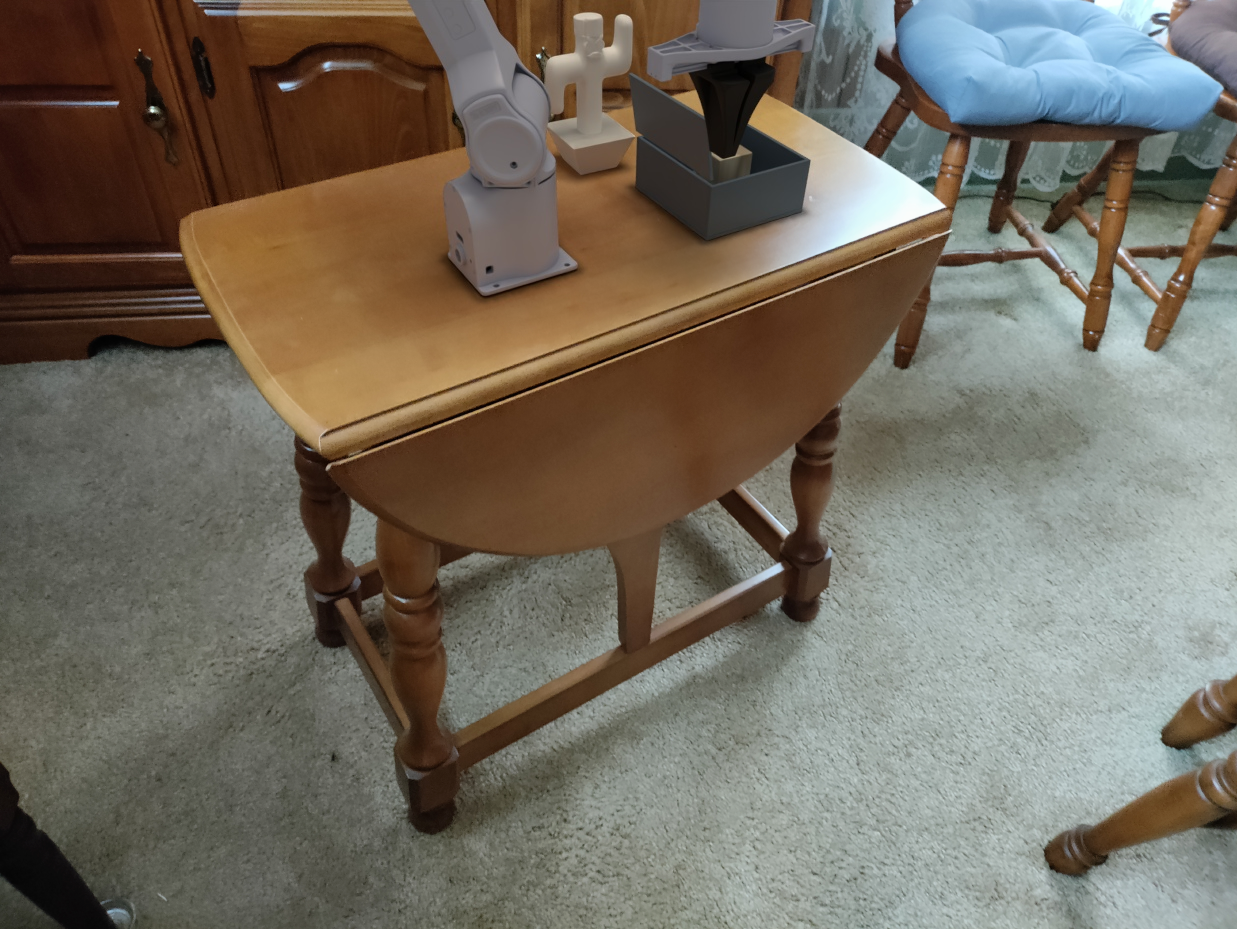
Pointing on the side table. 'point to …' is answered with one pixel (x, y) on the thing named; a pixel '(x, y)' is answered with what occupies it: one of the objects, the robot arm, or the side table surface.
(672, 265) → the side table surface
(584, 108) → the figurine
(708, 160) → the flap
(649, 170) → the carton
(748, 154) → the block
